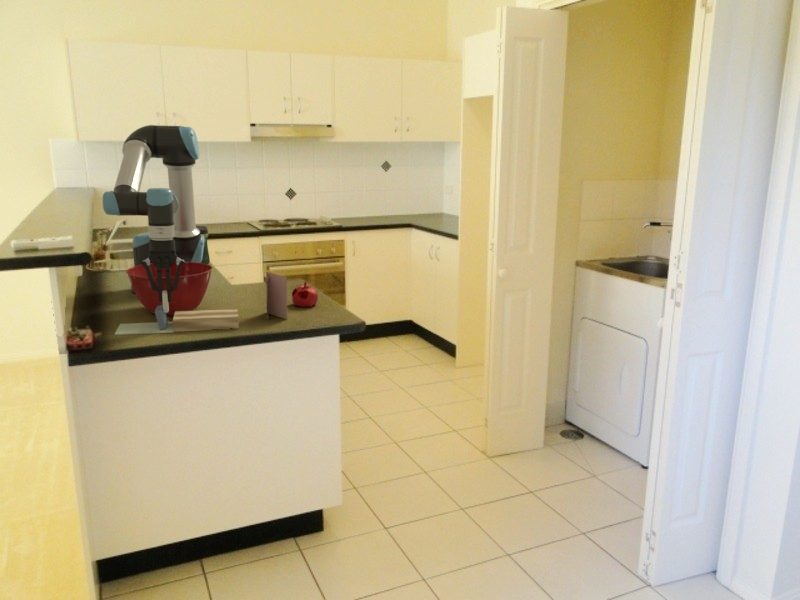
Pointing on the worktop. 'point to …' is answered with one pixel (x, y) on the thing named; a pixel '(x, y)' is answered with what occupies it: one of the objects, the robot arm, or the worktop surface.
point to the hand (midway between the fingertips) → (166, 311)
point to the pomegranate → (304, 296)
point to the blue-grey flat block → (161, 317)
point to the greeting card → (276, 295)
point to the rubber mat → (143, 328)
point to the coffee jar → (205, 252)
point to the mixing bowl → (188, 287)
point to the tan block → (205, 320)
